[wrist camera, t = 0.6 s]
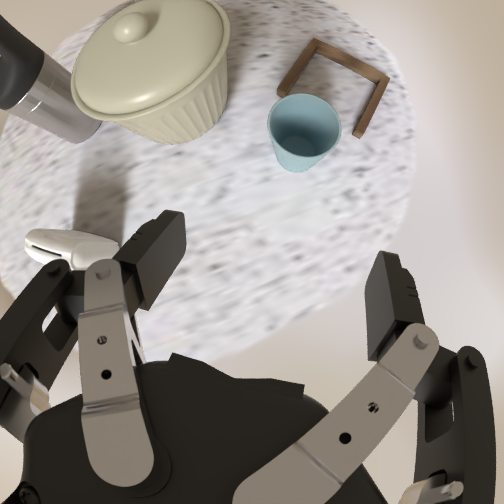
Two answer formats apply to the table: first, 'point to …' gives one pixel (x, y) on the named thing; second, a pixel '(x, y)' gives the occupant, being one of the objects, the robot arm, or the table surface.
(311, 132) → the cup
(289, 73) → the walnut bay
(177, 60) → the canister
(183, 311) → the table surface
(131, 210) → the table surface
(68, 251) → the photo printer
